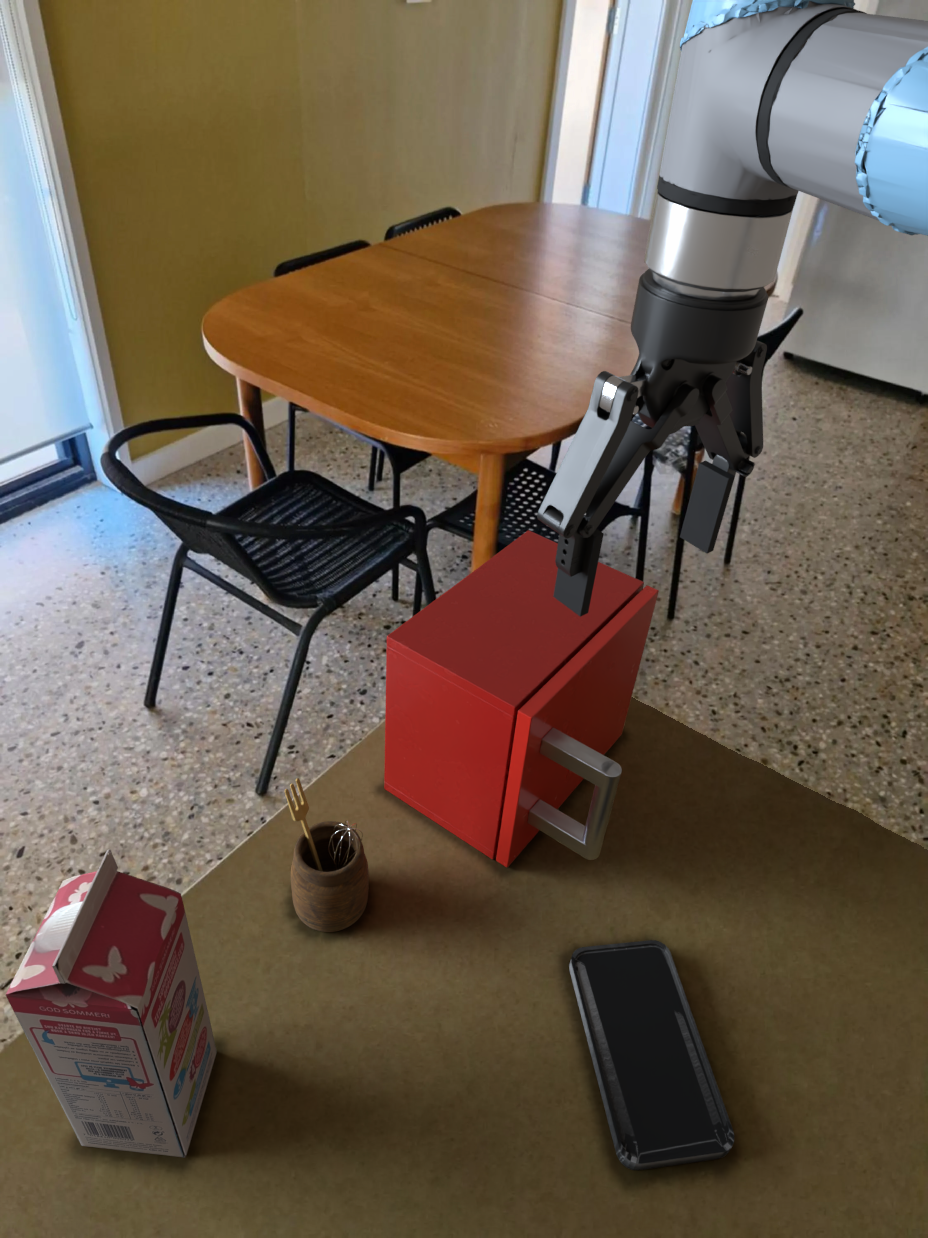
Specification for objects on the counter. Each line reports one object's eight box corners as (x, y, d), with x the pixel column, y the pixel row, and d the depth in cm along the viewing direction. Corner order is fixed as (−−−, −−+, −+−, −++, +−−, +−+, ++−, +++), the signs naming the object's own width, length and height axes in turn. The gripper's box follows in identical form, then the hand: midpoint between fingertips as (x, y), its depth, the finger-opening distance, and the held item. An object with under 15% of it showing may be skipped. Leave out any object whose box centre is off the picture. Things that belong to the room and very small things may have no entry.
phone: (624, 1166, 56) (568, 948, 67) (620, 1173, 57) (565, 956, 68) (741, 1149, 57) (667, 938, 68) (737, 1156, 58) (663, 946, 69)
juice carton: (81, 1145, 56) (-14, 958, 42) (121, 1040, 61) (49, 842, 47) (185, 1157, 56) (125, 973, 42) (217, 1051, 61) (172, 856, 47)
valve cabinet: (609, 728, 87) (644, 581, 76) (492, 860, 74) (514, 707, 63) (508, 674, 93) (528, 529, 81) (383, 789, 80) (386, 636, 68)
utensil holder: (338, 949, 67) (334, 853, 60) (274, 908, 70) (262, 810, 62) (383, 893, 71) (385, 796, 64) (322, 856, 74) (316, 758, 66)
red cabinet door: (680, 765, 84) (728, 621, 73) (571, 910, 71) (609, 761, 60) (611, 728, 87) (646, 584, 76) (495, 861, 74) (517, 710, 63)
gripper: (778, 232, 60) (704, 501, 74) (501, 292, 47) (472, 605, 61) (877, 264, 56) (780, 544, 69) (602, 339, 43) (547, 665, 56)
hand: (636, 573), depth 65 cm, fingers open, 13 cm apart
